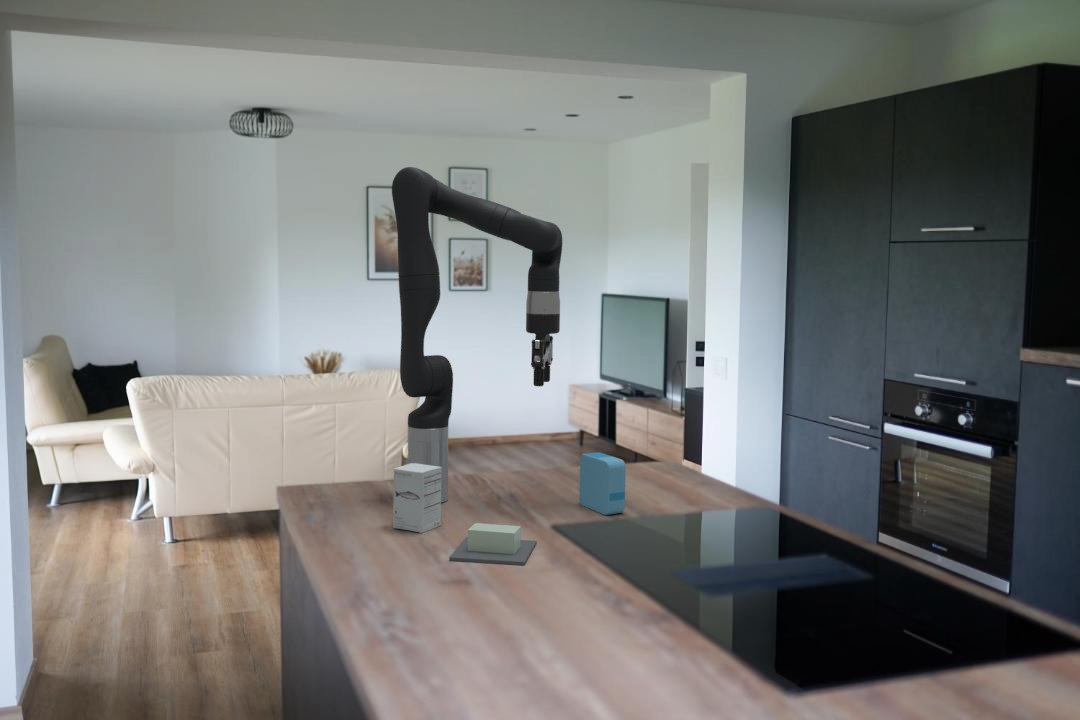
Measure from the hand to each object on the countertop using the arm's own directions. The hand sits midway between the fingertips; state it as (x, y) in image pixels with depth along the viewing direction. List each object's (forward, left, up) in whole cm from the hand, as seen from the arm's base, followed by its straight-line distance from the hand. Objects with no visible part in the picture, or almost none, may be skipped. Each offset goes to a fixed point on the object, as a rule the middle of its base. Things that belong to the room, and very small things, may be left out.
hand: (541, 383), depth 221 cm
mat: (-3, -38, -28) cm, 47 cm away
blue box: (+14, -1, -28) cm, 31 cm away
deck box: (-3, -38, -27) cm, 47 cm away
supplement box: (-22, -24, -28) cm, 43 cm away
